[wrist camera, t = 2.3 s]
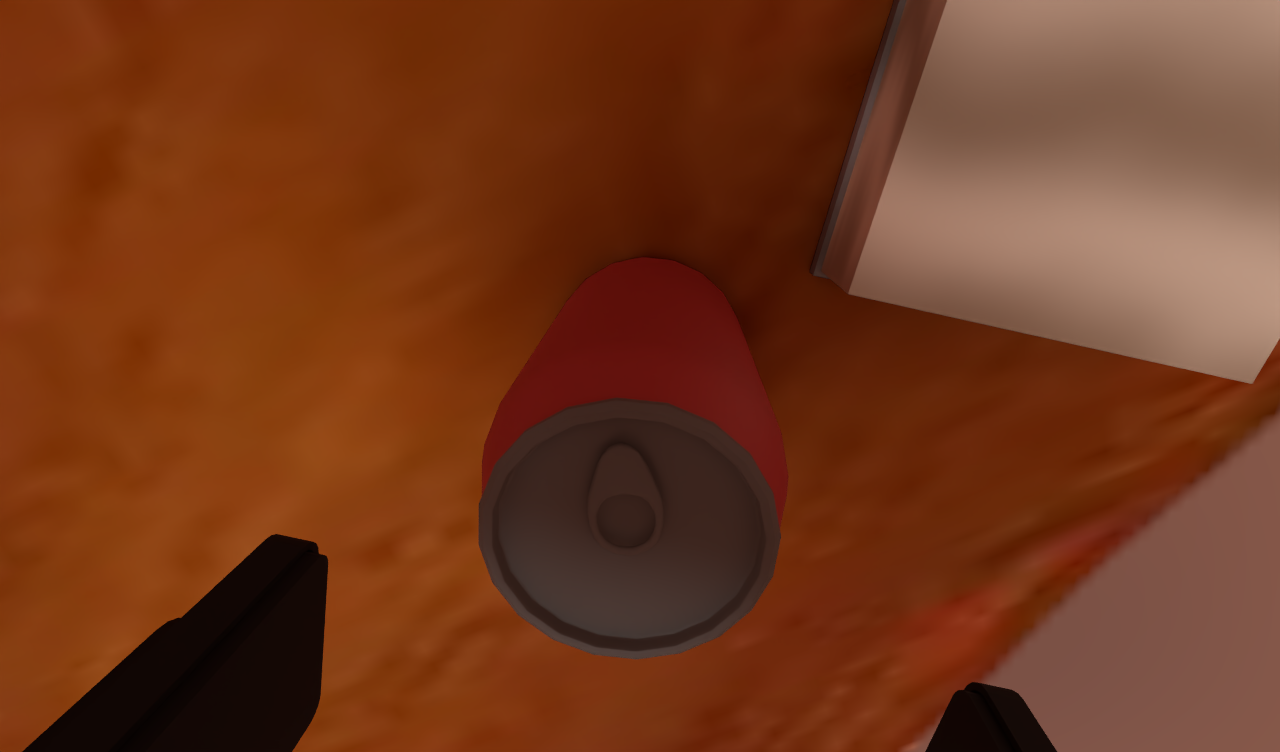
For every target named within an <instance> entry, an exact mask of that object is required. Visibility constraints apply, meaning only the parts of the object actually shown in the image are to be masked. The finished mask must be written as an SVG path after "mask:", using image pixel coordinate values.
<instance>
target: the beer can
mask: <svg viewBox="0 0 1280 752" xmlns="http://www.w3.org/2000/svg"><path fill="white" fill-rule="evenodd" d="M787 486H788V471H787V465H786V459H785V452H784V446H783V440H782V434H781V431H780V428H779V426H778V423H777V420H776V418H775V415H774V413H773V410H772V407H771V405H770V402H769V400H768V397H767V394H766V392H765V389H764V386H763V384H762V381H761V379H760V376H759V373H758V371H757V368H756V366H755V363H754V360H753V358H752V355H751V353H750V350H749V347H748V345H747V342H746V339H745V337H744V334H743V332H742V329H741V326H740V324H739V321H738V319H737V317H736V315H735V313H734V311H733V310H732V308H731V306H730V304H729V302H728V300H727V299H726V297H725V295H724V293H723V292H722V291H721V290H720V289H718V288H717V287H716V286H715V285H714V284H713V283H712V282H711V281H710V280H709V279H708V278H706V277H705V276H704V275H703V274H702V273H701V272H699V271H696V270H694V269H692V268H690V267H687V266H685V265H683V264H681V263H678V262H676V261H674V260H667V259H657V258H648V257H639V258H635V259H630V260H626V261H621V262H616V263H612V264H610V265H609V266H607V267H605V268H603V269H602V270H600V271H598V272H597V273H595V274H593V275H592V276H590V277H588V278H586V279H585V281H584V282H583V283H582V284H581V285H580V286H579V288H578V289H577V290H576V291H575V292H574V293H573V294H572V296H571V297H570V298H569V299H568V300H567V302H566V303H565V305H564V306H563V308H562V309H561V311H560V312H559V314H558V315H557V317H556V318H555V320H554V322H553V323H552V325H551V326H550V328H549V329H548V331H547V332H546V334H545V335H544V337H543V338H542V340H541V341H540V343H539V345H538V346H537V348H536V349H535V351H534V352H533V354H532V355H531V357H530V358H529V360H528V361H527V363H526V364H525V366H524V368H523V369H522V371H521V372H520V374H519V375H518V377H517V378H516V380H515V381H514V383H513V384H512V386H511V387H510V389H509V391H508V392H507V394H506V395H505V397H504V398H503V400H502V401H501V403H500V405H499V408H498V410H497V413H496V415H495V418H494V421H493V423H492V426H491V428H490V431H489V434H488V436H487V439H486V441H485V444H484V452H483V459H482V498H481V500H480V503H479V547H480V549H481V552H482V555H483V558H484V560H485V563H486V566H487V569H488V571H489V574H490V577H491V580H492V582H493V584H494V585H495V586H496V587H497V589H498V590H499V591H500V593H501V594H502V595H503V596H504V598H505V599H506V600H507V601H508V603H509V604H510V605H511V606H512V608H513V609H514V610H515V611H516V613H517V614H518V615H519V616H521V617H522V618H523V619H525V620H526V621H528V622H529V623H530V624H532V625H533V626H535V627H536V628H538V629H539V630H540V631H542V632H543V633H545V634H546V635H547V636H549V637H550V638H552V639H553V640H556V641H559V642H561V643H564V644H567V645H569V646H572V647H575V648H578V649H580V650H583V651H586V652H588V653H591V654H594V655H603V656H612V657H621V658H630V659H642V658H649V657H657V656H664V655H671V654H678V653H682V652H684V651H687V650H689V649H691V648H694V647H696V646H698V645H701V644H703V643H706V642H708V641H710V640H713V639H715V638H717V637H720V636H721V635H722V634H723V633H724V632H726V631H727V630H728V629H729V628H731V627H732V626H733V625H734V624H735V623H737V622H738V621H739V620H740V619H741V618H743V617H744V616H745V615H746V614H748V613H749V612H750V611H751V610H752V609H753V607H754V605H755V604H756V602H757V601H758V599H759V597H760V596H761V594H762V593H763V591H764V589H765V588H766V586H767V585H768V583H769V581H770V580H771V578H772V577H773V573H774V568H775V563H776V558H777V553H778V549H779V544H780V539H781V534H780V525H781V520H782V515H783V510H784V506H785V501H786V496H787Z"/></svg>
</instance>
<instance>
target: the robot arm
mask: <svg viewBox="0 0 1280 752" xmlns="http://www.w3.org/2000/svg"><path fill="white" fill-rule="evenodd" d="M327 574H328V559H327V556H325V555H321V554H319V552H318V546H317V544H316V543H314V542H311V541H307V540H302V539H297V538H292V537H288V536H283V535H278V534H275V535H271V536H270V537H268V538H267V539H266V540H265V541H264V542H263V543H261V544H260V545H259V546H258V547H257V548H256V549H255V550H254V551H253V552H252V553H251V554H250V555H248V556H247V557H246V558H245V559H244V560H243V561H242V562H241V563H240V564H239V565H238V566H237V567H236V568H234V569H233V570H232V571H231V572H230V573H229V574H228V575H227V576H226V577H225V578H224V579H223V580H222V581H220V582H219V583H218V584H217V585H216V586H215V587H214V588H213V589H212V590H211V591H210V592H209V593H208V594H206V595H205V596H204V597H203V598H202V599H201V600H200V601H199V602H198V603H197V604H196V605H195V606H194V607H192V608H191V609H190V610H189V611H188V612H187V613H186V614H185V615H184V616H183V617H182V618H176V619H174V620H171V621H168V622H167V623H165V624H164V625H163V626H161V627H160V628H159V629H157V630H156V631H155V632H154V633H153V634H152V635H150V636H149V637H148V638H147V639H146V640H145V641H144V642H143V643H142V644H140V645H139V646H138V647H137V648H136V649H135V650H134V651H133V652H132V653H131V654H129V655H128V656H127V657H126V658H125V659H124V660H123V661H122V662H121V663H120V664H118V665H117V666H116V667H115V668H114V669H113V670H112V671H111V672H110V673H108V674H107V675H106V676H105V677H104V678H103V679H102V680H101V681H100V682H99V683H97V684H96V685H95V686H94V687H93V688H92V689H91V690H90V691H89V692H88V693H86V694H85V695H84V696H83V697H82V698H81V699H80V700H79V701H78V702H77V703H75V704H74V705H73V706H72V707H71V708H70V709H69V710H68V711H67V712H65V713H64V714H63V715H62V716H61V717H60V718H59V719H58V720H57V721H56V722H54V723H53V724H52V725H51V726H50V727H49V728H48V729H47V730H46V731H45V732H43V733H42V734H41V735H40V736H39V737H38V738H37V739H36V740H35V741H33V742H32V743H31V744H30V745H29V746H28V747H27V748H26V749H25V750H24V751H22V752H292V751H293V749H294V748H295V746H296V745H297V743H298V742H299V740H300V738H301V737H302V735H303V734H304V732H305V731H306V729H307V728H308V726H309V724H310V723H311V721H312V719H313V717H314V715H315V713H316V710H317V707H318V704H319V700H320V694H321V678H322V660H323V643H324V626H325V608H326V591H327ZM925 752H1057V751H1056V749H1055V748H1054V746H1053V745H1052V743H1051V742H1050V740H1049V739H1048V737H1047V735H1046V734H1045V732H1044V731H1043V729H1042V728H1041V726H1040V725H1039V723H1038V722H1037V720H1036V719H1035V717H1034V715H1033V714H1032V712H1031V711H1030V709H1029V708H1028V706H1027V705H1026V703H1025V701H1024V700H1023V699H1022V697H1020V695H1019V694H1018V693H1016V692H1015V691H1013V690H1010V689H1005V688H1001V687H996V686H991V685H986V684H982V683H975V682H972V683H970V684H968V685H967V686H966V688H965V689H964V690H958V691H957V692H955V694H954V695H953V697H952V699H951V701H950V703H949V705H948V707H947V709H946V711H945V713H944V715H943V717H942V719H941V721H940V723H939V725H938V727H937V729H936V731H935V733H934V735H933V737H932V739H931V741H930V743H929V745H928V747H927V749H926V751H925Z"/></svg>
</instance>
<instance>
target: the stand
mask: <svg viewBox="0 0 1280 752" xmlns="http://www.w3.org/2000/svg"><path fill="white" fill-rule="evenodd" d="M810 273H811V274H812V275H814V276H818V277H823V278H827V279H831V280H832V281H833V282H834V283H836V284H837V285H838V286H839V287H840V288H841V289H843V290H844V291H845V292H846V293H847V294H850V295H854V296H859V297H863V298H868V299H872V300H877V301H881V302H886V303H890V304H895V305H899V306H904V307H908V308H913V309H917V310H922V311H926V312H931V313H935V314H940V315H944V316H949V317H953V318H958V319H962V320H967V321H971V322H976V323H980V324H985V325H989V326H994V327H998V328H1003V329H1007V330H1012V331H1016V332H1021V333H1025V334H1030V335H1034V336H1039V337H1043V338H1048V339H1052V340H1057V341H1061V342H1066V343H1070V344H1075V345H1079V346H1084V347H1088V348H1093V349H1097V350H1102V351H1106V352H1111V353H1115V354H1120V355H1124V356H1129V357H1133V358H1138V359H1142V360H1147V361H1151V362H1156V363H1160V364H1165V365H1169V366H1174V367H1178V368H1183V369H1187V370H1192V371H1196V372H1201V373H1205V374H1210V375H1214V376H1219V377H1223V378H1228V379H1232V380H1237V381H1241V382H1246V383H1250V384H1252V383H1253V381H1254V380H1255V378H1256V376H1257V375H1258V373H1259V371H1260V370H1261V368H1262V367H1263V365H1264V363H1265V362H1266V360H1267V358H1268V357H1269V355H1270V353H1271V352H1272V350H1273V348H1274V347H1275V345H1276V343H1277V342H1278V340H1279V338H1280V0H894V2H893V5H892V8H891V11H890V15H889V18H888V21H887V24H886V27H885V31H884V34H883V37H882V40H881V43H880V47H879V50H878V53H877V56H876V60H875V63H874V66H873V69H872V72H871V76H870V79H869V82H868V85H867V88H866V92H865V95H864V98H863V101H862V105H861V108H860V111H859V114H858V117H857V121H856V124H855V127H854V130H853V133H852V137H851V140H850V143H849V146H848V149H847V153H846V156H845V159H844V162H843V166H842V169H841V172H840V175H839V178H838V182H837V185H836V188H835V191H834V194H833V198H832V201H831V204H830V207H829V211H828V214H827V217H826V220H825V223H824V227H823V230H822V233H821V236H820V239H819V243H818V246H817V249H816V252H815V255H814V259H813V262H812V265H811V268H810Z"/></svg>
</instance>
